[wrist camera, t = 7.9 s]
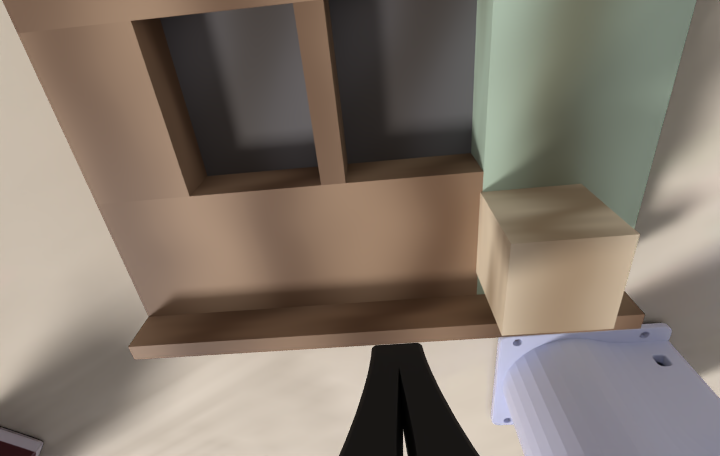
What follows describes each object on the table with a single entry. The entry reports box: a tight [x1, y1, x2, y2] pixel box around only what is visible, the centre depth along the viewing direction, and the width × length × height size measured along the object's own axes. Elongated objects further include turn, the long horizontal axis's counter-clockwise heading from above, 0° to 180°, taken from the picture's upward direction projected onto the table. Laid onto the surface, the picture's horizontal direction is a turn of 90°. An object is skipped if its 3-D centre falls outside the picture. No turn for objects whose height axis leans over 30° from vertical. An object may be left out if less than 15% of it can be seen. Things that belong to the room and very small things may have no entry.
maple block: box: [476, 184, 640, 336], centre depth 16 cm, size 4×4×4 cm
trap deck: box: [2, 0, 697, 360], centre depth 16 cm, size 22×15×4 cm, turn 96°
